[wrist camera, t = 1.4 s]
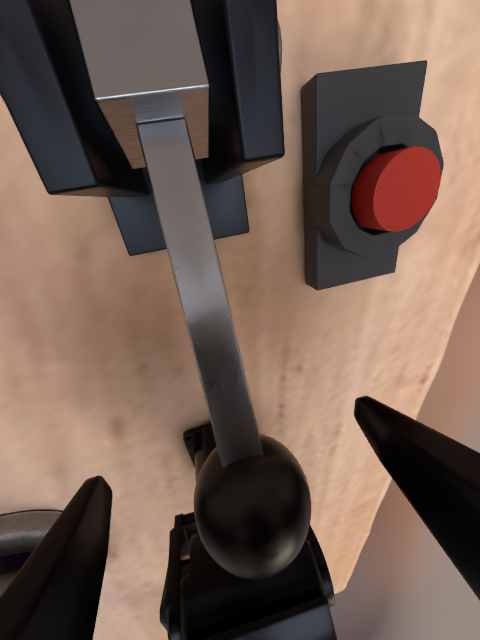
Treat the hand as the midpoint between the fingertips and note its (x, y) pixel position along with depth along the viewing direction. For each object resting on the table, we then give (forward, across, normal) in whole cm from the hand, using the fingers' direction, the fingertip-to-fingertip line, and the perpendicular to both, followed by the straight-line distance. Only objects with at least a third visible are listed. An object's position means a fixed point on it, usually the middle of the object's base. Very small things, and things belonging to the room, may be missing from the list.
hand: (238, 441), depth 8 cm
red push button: (+7, -11, -6) cm, 14 cm away
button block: (+10, -10, -6) cm, 16 cm away
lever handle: (+2, 0, -4) cm, 5 cm away
